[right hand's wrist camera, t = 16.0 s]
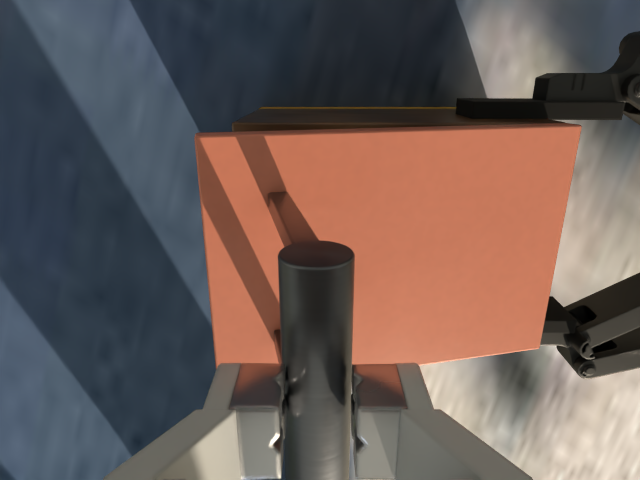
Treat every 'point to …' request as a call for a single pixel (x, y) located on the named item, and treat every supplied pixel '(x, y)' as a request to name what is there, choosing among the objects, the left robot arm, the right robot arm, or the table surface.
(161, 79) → the table surface
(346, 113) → the chest
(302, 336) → the lid
